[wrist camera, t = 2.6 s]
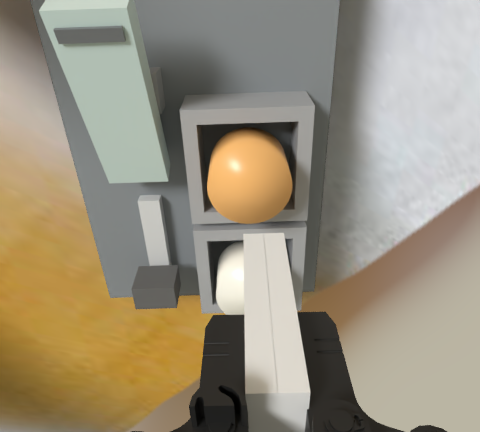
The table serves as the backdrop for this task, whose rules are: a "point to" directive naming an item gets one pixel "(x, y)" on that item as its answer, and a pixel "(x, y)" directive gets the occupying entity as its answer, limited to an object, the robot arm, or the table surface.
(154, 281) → the slider
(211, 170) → the button
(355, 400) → the robot arm
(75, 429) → the table surface
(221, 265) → the button
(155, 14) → the panel
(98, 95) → the block
